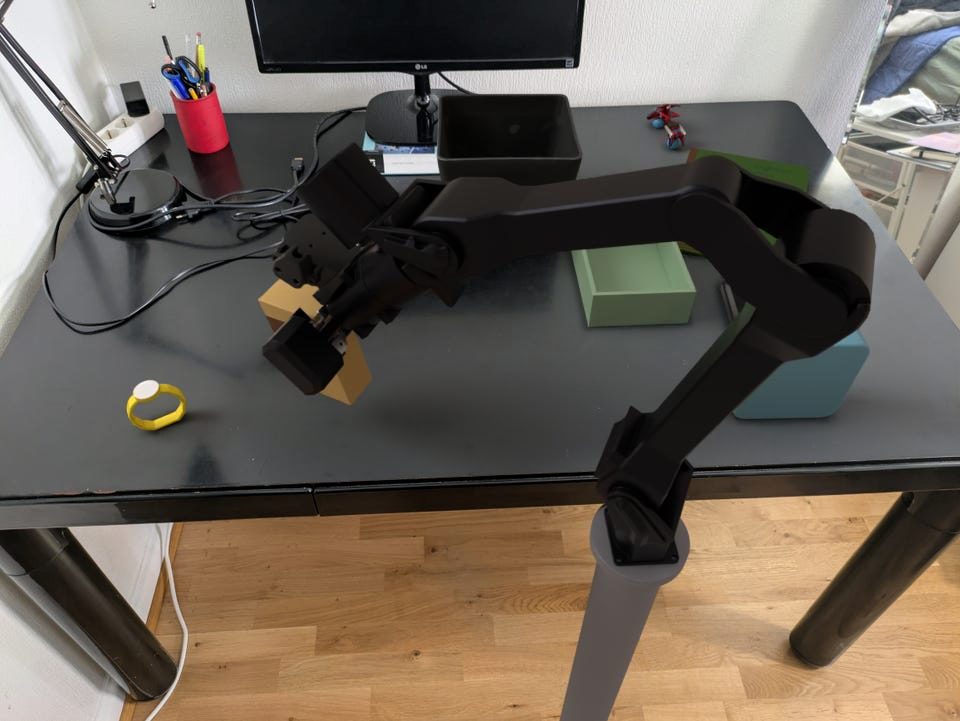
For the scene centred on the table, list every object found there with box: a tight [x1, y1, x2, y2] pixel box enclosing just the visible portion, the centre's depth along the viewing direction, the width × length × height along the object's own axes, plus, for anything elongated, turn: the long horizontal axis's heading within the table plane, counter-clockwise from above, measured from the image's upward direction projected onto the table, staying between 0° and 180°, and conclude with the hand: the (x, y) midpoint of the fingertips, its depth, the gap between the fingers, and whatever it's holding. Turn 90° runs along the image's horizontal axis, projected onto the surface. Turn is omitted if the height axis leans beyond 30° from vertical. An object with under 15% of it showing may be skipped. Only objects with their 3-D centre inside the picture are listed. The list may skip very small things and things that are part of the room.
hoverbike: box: [646, 103, 687, 150], centre depth 124 cm, size 5×12×6 cm, turn 9°
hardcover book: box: [677, 146, 810, 258], centre depth 106 cm, size 25×19×4 cm
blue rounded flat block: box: [732, 328, 871, 420], centre depth 77 cm, size 12×4×12 cm, turn 91°
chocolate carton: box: [257, 278, 373, 406], centre depth 71 cm, size 7×4×13 cm, turn 60°
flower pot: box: [436, 93, 583, 186], centre depth 101 cm, size 19×19×17 cm
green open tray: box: [570, 242, 697, 328], centre depth 96 cm, size 21×13×6 cm, turn 3°
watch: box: [126, 379, 187, 431], centre depth 78 cm, size 6×3×6 cm, turn 118°
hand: (307, 333), depth 71 cm, fingers closed on chocolate carton, 4 cm apart
